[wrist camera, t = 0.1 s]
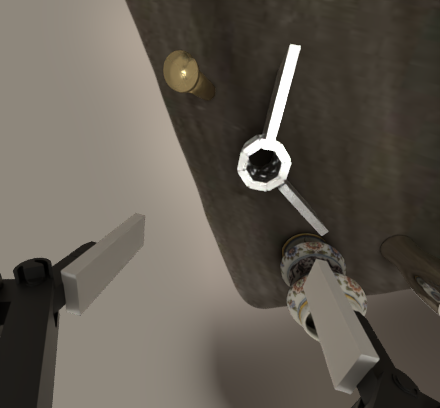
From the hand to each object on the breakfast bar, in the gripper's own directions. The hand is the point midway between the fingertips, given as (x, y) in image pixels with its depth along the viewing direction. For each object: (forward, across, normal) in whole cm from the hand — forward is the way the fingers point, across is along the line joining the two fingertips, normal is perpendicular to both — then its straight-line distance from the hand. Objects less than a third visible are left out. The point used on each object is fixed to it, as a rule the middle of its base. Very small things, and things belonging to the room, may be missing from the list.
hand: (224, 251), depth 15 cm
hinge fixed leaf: (+28, +3, +9) cm, 30 cm away
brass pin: (+28, -10, +13) cm, 32 cm away
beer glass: (+28, +35, -8) cm, 46 cm away
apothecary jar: (+28, +18, -15) cm, 36 cm away
